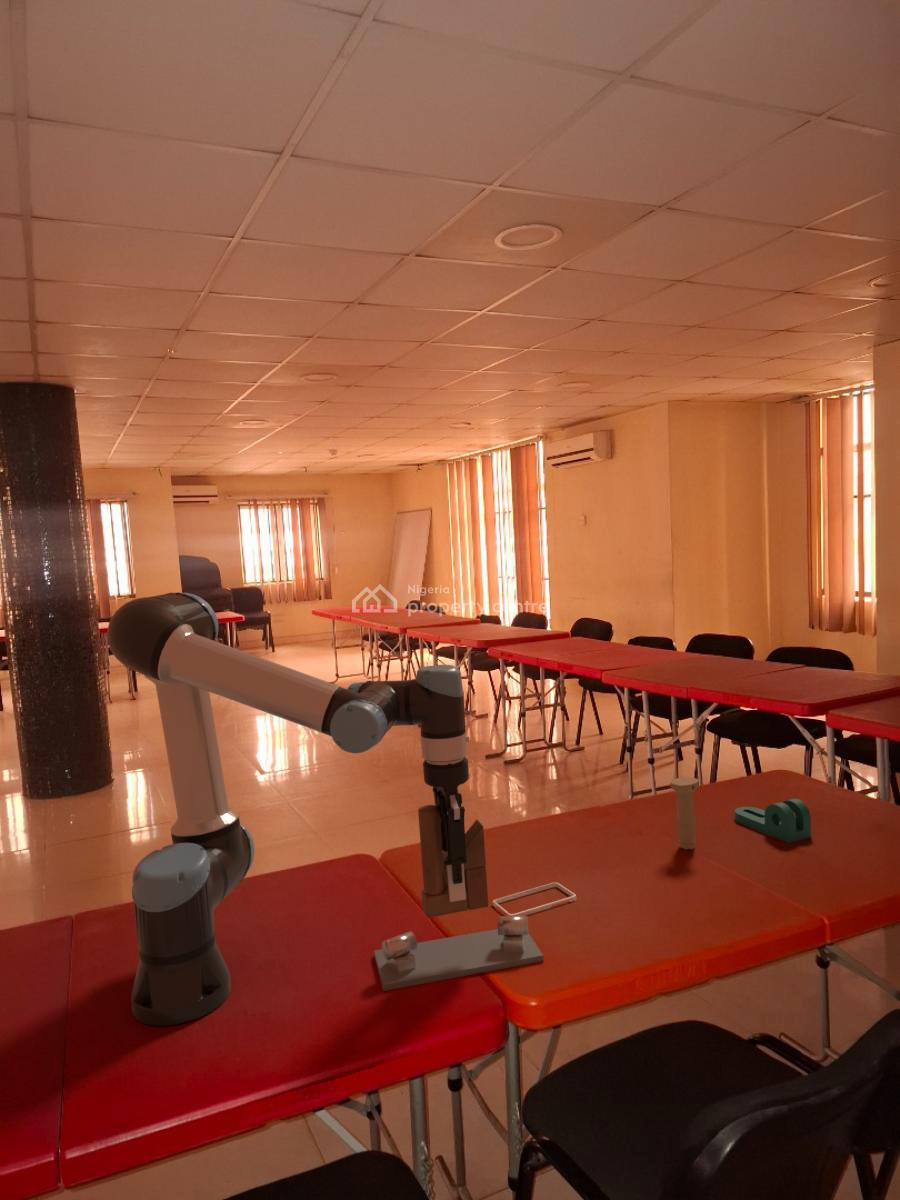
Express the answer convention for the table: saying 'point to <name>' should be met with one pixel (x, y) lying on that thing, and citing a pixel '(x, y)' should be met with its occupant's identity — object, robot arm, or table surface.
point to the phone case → (534, 890)
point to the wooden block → (433, 867)
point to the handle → (685, 810)
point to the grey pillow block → (400, 952)
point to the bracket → (778, 820)
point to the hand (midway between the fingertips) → (454, 893)
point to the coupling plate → (457, 959)
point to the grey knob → (513, 932)
